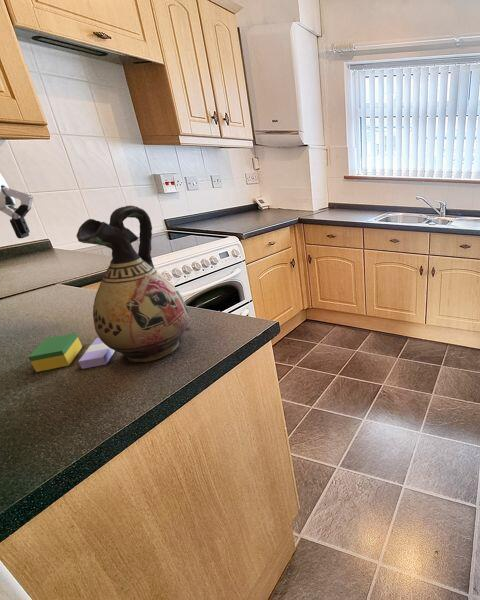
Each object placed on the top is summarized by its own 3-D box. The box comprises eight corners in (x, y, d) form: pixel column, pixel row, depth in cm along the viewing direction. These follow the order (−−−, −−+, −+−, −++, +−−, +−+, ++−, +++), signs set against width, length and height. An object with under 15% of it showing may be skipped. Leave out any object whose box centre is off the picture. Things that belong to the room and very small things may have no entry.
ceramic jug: (149, 378, 63) (88, 217, 51) (91, 364, 68) (22, 212, 55) (218, 334, 78) (184, 202, 66) (167, 326, 82) (126, 199, 70)
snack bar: (106, 364, 68) (103, 356, 67) (81, 369, 66) (77, 361, 65) (121, 341, 76) (118, 334, 75) (99, 344, 74) (96, 337, 74)
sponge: (52, 352, 72) (45, 338, 70) (82, 346, 74) (76, 332, 72) (36, 372, 65) (27, 357, 64) (69, 365, 67) (62, 350, 66)
